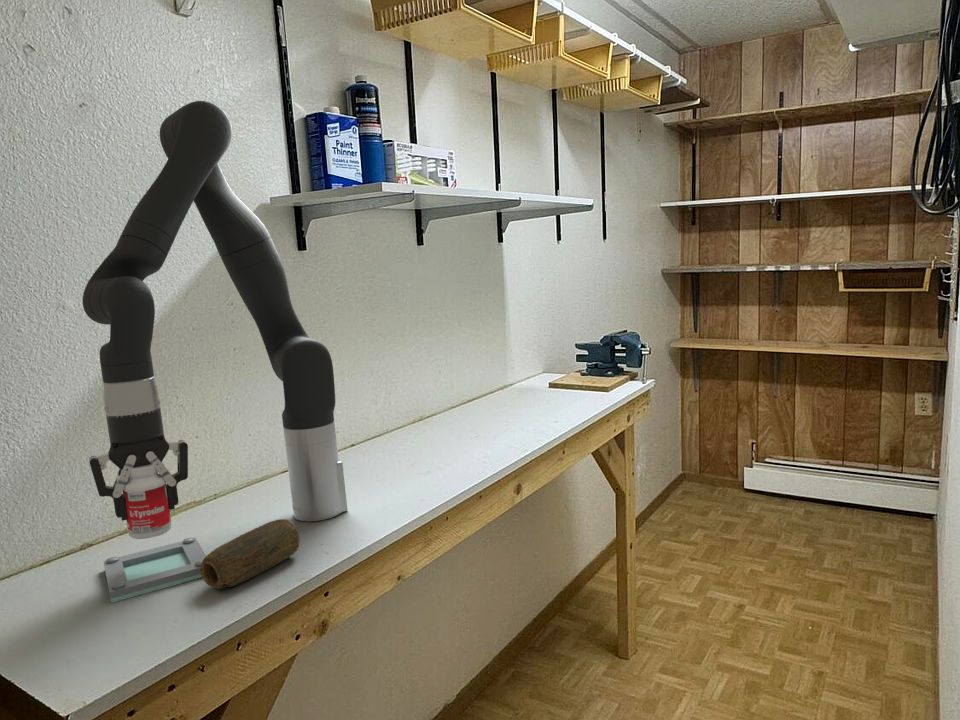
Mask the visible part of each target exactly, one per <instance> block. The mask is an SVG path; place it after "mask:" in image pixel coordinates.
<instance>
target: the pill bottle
mask: <svg viewBox="0 0 960 720" xmlns="http://www.w3.org/2000/svg"><path fill="white" fill-rule="evenodd" d="M127 470H128V469H127ZM166 485H167V482H166V481H165V480H164V479H163V477H162V476H161V475H160V474H159V473H158V471H157V470H156V469H155V468H154V465H152V464H150V465H145V466H139V467H133V468H132V469H131V473H130V476H129V478H128V481H127V483H126V484H125V487H124V489H123V492H122V494H123V496H124V502H125V509H126V516H127V520H126V525H127V526H126V527H127V532H128V536H129V537H130V538H131V539H134V540H135V539H136V540H142V539H143V540H145V539H152V538H155V537H159V536H163V535H165V534H166V533H168V532H169V531H170V530H171V528H172V518H171V516H172V515H171V510H170V509H169V501H168V493H167V486H166Z"/></svg>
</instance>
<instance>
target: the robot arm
mask: <svg viewBox="0 0 960 720" xmlns="http://www.w3.org/2000/svg"><path fill="white" fill-rule="evenodd" d="M160 124H161V125H160V128H159V141H160V144H161V148H162V150H163V152H164V155H165V156H166V158H167V161H166V163H165V164H164V166H163V168H162V169H161V171H160V172H159V174H158V176H157V177H156V178H155V180H154V181H153V183H152V184H151V185H150V187H149V188H148V189H147V190H146V192H145V193H144V194H143V196H142V197H141V199H140V200H139V202H138V203H137V204H136V206H135V207H134V209H133V210H132V212H131V214H130V216H129V218H128V220H127V222H126V223H125V226H124V229H123V230H122V232H121V234H120V235H119V238H118V240H117V242H116V245H115V247H114V248H113V249H112V250H111V252H110V253H109V254H108V255H107V256H106V257H105V258H104V260H103V261H102V262H101V263H100V265H99V266H98V267H97V268H96V270H95V271H94V273H92V275H91V276H90V278H89V279H88V282H87V283H86V285H85V288H84V290H83V294H82V308H83V310H84V312H85V314H86V316H87V317H88V318H89V319H90V320H92V321H93V322H95V323H97V324H101V325H109V326H110V330H109V342H106V343H105V344H103V345H102V346H101V347H100V349H99V364H100V370H101V377H102V382H103V383H102V385H103V394H102V395H103V403H104V412H105V418H106V424H107V433H108V436H109V437H108V438H109V444H110V446H109V450H108V452H107V453H105V454H101V455H98V456H97V455H91V456H90V457H89V458H88V461H89V466H90V470H91V473H92V475H93V479H94V482H95V487H96V489H97V493H98V496H99V497H103V498H104V497H110V498H112V499H113V505H114V506H113V507H114V514H115V516H116V517H117V518H118V519H119V518H120V519H121V522H123V521H127V516H126V509H125V502H124V496H123V489H124V487H125V484H126V483H127V481H128V478H129V476H130V473H131V469H132V468H133V467H139V466H145V465H150V464H152V465H154V468H155V469H156V470H157V471H158V474H160V475H161V476H162V477H163V479H164V480H165V481H166V486H167V493H168V501H169V509H170V511H173V510H175V508H176V506H178V505H179V495H178V489H177V485H178V484H179V483H180V482H182V481H185V480H187V479H188V477H189V445H188V443H187V442H186V441H185V440H183V439H180V440H178V441H176V442H175V441H174V442H168V441H167V440H166V438H165V432H164V426H163V416H162V411H161V399H160V396H159V389H158V386H157V382H156V379H155V373H154V371H155V370H154V365H153V357H152V353H151V350H152V349H151V348H152V341H153V335H154V325H155V315H156V310H155V300H154V297H153V295H152V291H151V290H150V288H149V286H148V285H147V284H146V283H145V282H144V280H145V279H146V278H148V277H149V276H151V275H154V274H155V273H157V272H159V270H161V268H162V267H163V265H164V264H165V262H166V258H168V255H169V253H170V251H171V248H172V247H173V244H174V242H175V239H176V237H177V235H178V233H179V231H180V228H181V226H182V224H183V222H184V220H185V218H186V216H187V214H188V212H189V210H190V208H191V206H192V204H193V203H194V204H195V206H196V209H197V211H198V212H199V215H200V218H201V219H202V221H203V223H204V225H205V227H206V230H207V231H208V233H209V235H210V237H211V240H213V243H214V245H215V248H216V250H217V253H218V254H219V257H220V259H221V261H222V263H223V265H224V267H225V269H226V271H227V273H228V275H229V278H230V279H231V281H232V283H233V285H234V287H235V289H236V290H237V292H238V294H239V296H240V297H241V299H242V301H243V303H244V305H245V306H246V309H247V310H248V312H249V313H250V315H251V317H252V319H253V320H254V322H255V324H256V326H257V328H258V331H259V334H260V337H261V340H262V342H263V345H264V347H265V350H266V354H267V355H268V356H267V357H268V359H269V362H270V365H271V368H272V369H273V373H274V375H276V377H277V378H278V379H279V380H280V381H281V382H282V384H283V385H282V386H283V387H282V388H283V396H284V409H283V411H282V414H281V418H282V419H281V420H282V426H283V435H284V443H285V444H284V446H285V451H286V452H285V453H286V461H287V462H286V463H287V469H288V478H289V487H290V495H291V503H292V504H291V505H292V510H293V518H294V519H295V520H297V521H301V522H318V521H323V520H327V519H328V520H329V519H331V518H334V517H336V516H338V515H340V514H342V513H344V512H346V511H348V501H347V493H346V492H347V491H346V483H345V474H344V465H343V461H342V460H340V459H339V452H338V444H337V436H336V435H337V434H336V424H335V416H334V415H335V414H334V412H335V407H336V389H335V375H334V368H333V367H334V366H333V360H332V356H331V354H330V351H329V350H328V348H327V346H326V345H324V344H323V343H322V342H320V341H319V340H316V339H313V338H310V336H309V335H308V334H307V332H306V331H305V328H304V327H303V325H302V323H301V321H300V319H299V317H298V316H297V314H296V312H295V310H294V307H293V305H292V300H291V296H290V291H289V286H288V281H287V276H286V271H285V268H284V264H283V262H282V258H281V257H280V253H279V252H278V250H277V248H276V245H275V242H274V241H273V239H272V237H271V233H270V232H269V231H268V229H267V227H266V225H265V224H264V223H263V221H262V220H260V218H259V217H258V216H257V215H256V214H255V213H254V211H252V210H251V209H250V208H249V207H248V206H247V205H246V204H245V203H244V202H243V201H242V200H241V199H240V198H239V197H238V196H237V194H235V192H234V191H233V190H232V188H231V187H230V185H229V183H228V181H227V180H226V176H225V175H224V173H223V170H222V168H221V166H220V164H219V162H220V160H221V159H222V158H223V156H224V155H225V154H226V152H227V151H228V149H229V148H230V146H231V143H232V140H233V127H232V123H231V120H230V118H229V117H228V115H227V113H226V112H225V111H224V110H223V109H222V108H221V107H220V106H218V105H217V104H215V103H213V102H210V101H206V100H196V101H192V102H191V101H190V102H189V103H187V104H184V105H183V106H181V107H180V108H179V109H177V110H175V111H174V112H173V113H172V114H169V116H167V117H166V118H165V119H164V120H163V121H162V123H160ZM170 450H171V451H172V454H173V455H174V456H176V457H177V461H176V462H177V472H175V473H173V474H172V473H171V472H170V471H169V470H168V468H167V467H166V466H165V464H164V463H163V460H164V459H165V458H166V456H167V454H168V452H169V451H170ZM109 461H110V462H111V463H112V464H114V465H115V466H116V467H117V468H118V472H117V474H116V476H115V481H114V483H113V485H112V486H109V485H107V484H106V481H105V477H104V473H103V470H106V469H107V463H108V462H109ZM127 469H128V470H127Z"/></svg>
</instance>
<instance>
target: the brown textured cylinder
mask: <svg viewBox="0 0 960 720" xmlns="http://www.w3.org/2000/svg"><path fill="white" fill-rule="evenodd" d="M299 546H300V536H299V533H298V530H297V528H296V527H295V525H294V524H293V523H292V522H291V521H290V520H288V519H284V518H281V519H275V520H272V521H269V522H266V523H264V524H262V525H260V526H258V527H256V528H253V529H251V530H249V531H246V532H245V533H242V534H241V535H239V536H237V537H235V538H233V539H231V540H229V541H227V542H226V543H223V544H221V545H220V546H219V547H217V548H215V549H213V550H212V551H211V552H209V553H208V554H206V557H205V558H204V560H203V561H202V564H201V569H200V572H201V575H202V579H203V581H204V582H205V583H206V584H207V585H208V586H209V587H211V588H213V589H217V590H221V589H224V588H231V587H234V586H236V585H238V584H241V583H243V582H247V581H248V580H250V579H252V578H254V577H256V576H257V575H260V574H261V573H264V572H266V571H268V570H269V569H272V568H273V567H276V565H279V564H280V563H281V562H283V561H285V560H286V559H288V558H289V557H291V556H292V555H294V554H295V552H297V551H298V548H299Z"/></svg>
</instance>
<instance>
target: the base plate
mask: <svg viewBox="0 0 960 720" xmlns="http://www.w3.org/2000/svg"><path fill="white" fill-rule="evenodd" d="M206 556H207V554H206V553H205V551H204V549H203V547H201V545H200V543H199V541H198V540H197V538H196V537H187V538H184V539H183V540H181V541H178V542H174V543H169V544H166V545H162V546H161V545H160V546H157V547H154V548H149V549H145V550H142V551H138V552H134V553H130V554H126V555H123V556H112V557H108V558H106V559H105V560H103V567H104V572H105V578H106V582H107V587H108V593H109V597H110V602H111V603H116V602H120V601H123V600H126V599H130V598H134V597H137V596H141V595H145V594H148V593H152V592H155V591H158V590H162V589H165V588H170V587H172V586H177V585H180V584H183V582H184V583H187V582H186V581H188V582H191V581H194V580H193V579H195V580H198V579H201V577H202V575H201V572H200V569H201V564H202V561H203V560H204V558H205V557H206ZM197 578H198V579H197ZM190 580H191V581H190Z"/></svg>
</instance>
